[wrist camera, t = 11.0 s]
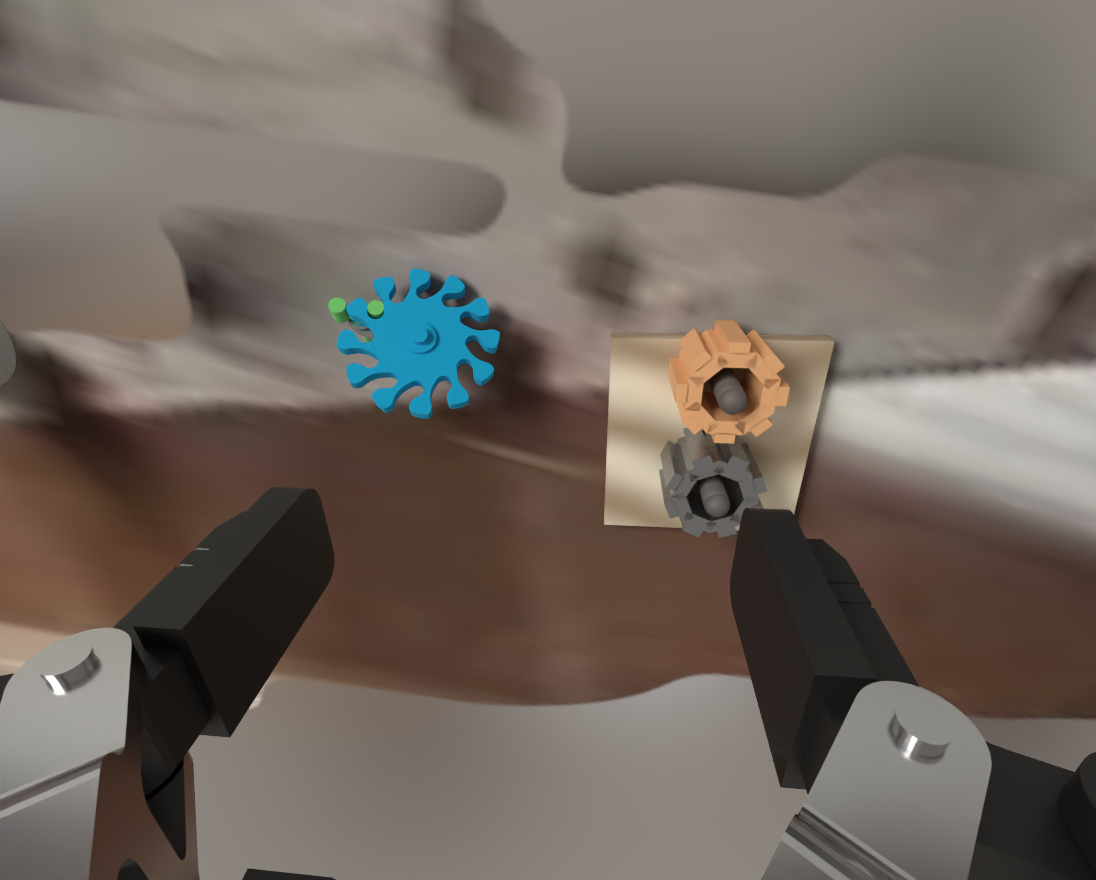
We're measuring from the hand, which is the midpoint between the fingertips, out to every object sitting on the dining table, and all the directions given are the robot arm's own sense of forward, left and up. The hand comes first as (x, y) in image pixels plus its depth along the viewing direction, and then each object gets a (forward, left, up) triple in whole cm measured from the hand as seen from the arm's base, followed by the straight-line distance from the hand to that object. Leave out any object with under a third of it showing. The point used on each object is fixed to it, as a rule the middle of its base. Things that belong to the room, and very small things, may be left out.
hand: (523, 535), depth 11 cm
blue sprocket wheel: (+4, -10, -28) cm, 31 cm away
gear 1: (+6, +9, -27) cm, 29 cm away
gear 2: (+14, +9, -27) cm, 32 cm away
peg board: (+12, +9, -28) cm, 32 cm away
